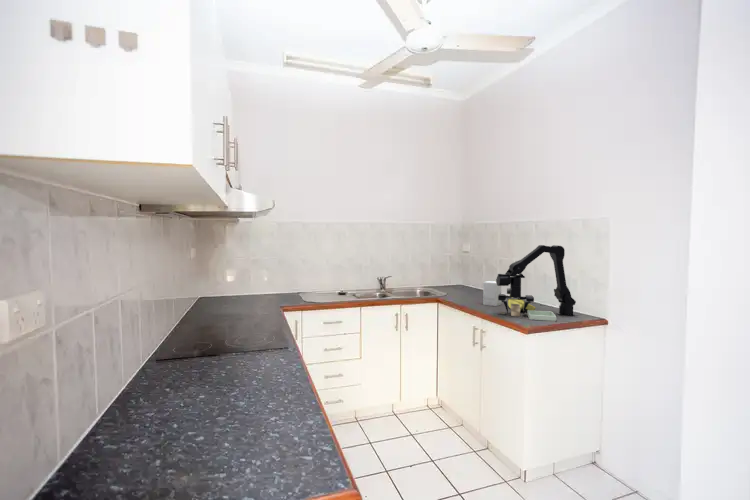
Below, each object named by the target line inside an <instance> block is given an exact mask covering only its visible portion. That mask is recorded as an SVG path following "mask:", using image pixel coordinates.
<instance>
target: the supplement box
mask: <svg viewBox="0 0 750 500" xmlns="http://www.w3.org/2000/svg"><path fill="white" fill-rule="evenodd" d="M482 285H483V286H482V290H483V292H482V294H483V296H482V298H483V300H482V301H483V303H482V304H483V306H491V307H497V306H500V305H502V302H501V301H500V300H498V295H499V294H502V286H497V283H496V280H495V281H494V280H486V281H483V282H482Z"/></svg>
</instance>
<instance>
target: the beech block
mask: <svg viewBox="0 0 750 500" xmlns="http://www.w3.org/2000/svg"><path fill="white" fill-rule="evenodd" d="M510 315H511V316H512V317H521V311H520V305H519V304H511V308H510Z"/></svg>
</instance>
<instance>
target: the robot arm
mask: <svg viewBox="0 0 750 500" xmlns="http://www.w3.org/2000/svg"><path fill="white" fill-rule="evenodd" d="M544 253H548V254H549V256H550V258H551V260H552V261H553V268H554V273H555V278H556V279H555V280H556V288H553V292H554V297H555V299H557V301H558V303H559V305H558V313H559V314H560V315H561V316H571V317H573V316H575V314H574V306H575V305H576V303H577V302H576V300H575V299H574V298H573V297H572V294H571V291H570V289H569V287H568V286H567V280H566V274H565V266H564V259H565V253H566V252H565V248H564V246H562V245H555V244H554V245H551V246H550V245H549V246H548V245H543V244H540V245H538V246H536V248H534V249H533V250H531V251H530V252H529V253H528V254H527V255H524V257H523V258H521V259H519V260H516V261H515V262H512V263H511V264H509V266H508V269H507V271H506V272H505V273H497V277H496V278H495V279H496V280H495V281H496V283H497V286H501V287H507V288H506V294H507V295H506V294H505V293H501V294H499V295H498V300H500V301H501V303H503V304H504V307H505V309H506V313H507V314H508V313H509V308H508V307H509V306H508V299H514V300H523V301H524V306H523V308H522V313H523V314H525V312H526V310H527V309H526V307H527V305H528V304H531V303H535V302H534V301H535V298H534V296H533V295H528V294H527V295H525V296H522V279H525V278H526V276H525V275H524V274H523V272H524V271H525V270H526V268H527V267H528V265H529V264H530V263H532V262H533V261H535V260H536V259H537V258H538V257H539V256H541V255H543V254H544ZM509 286H510V287H509ZM512 297H513V298H512Z"/></svg>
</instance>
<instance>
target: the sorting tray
mask: <svg viewBox="0 0 750 500" xmlns="http://www.w3.org/2000/svg"><path fill="white" fill-rule="evenodd" d="M526 316H528V319H529V321H542V322H543V321H544V322H557V316H556V314H555V313H554V312H553V311H549V310H548V311H547V310H534V311H531V310H527V309H526Z"/></svg>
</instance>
